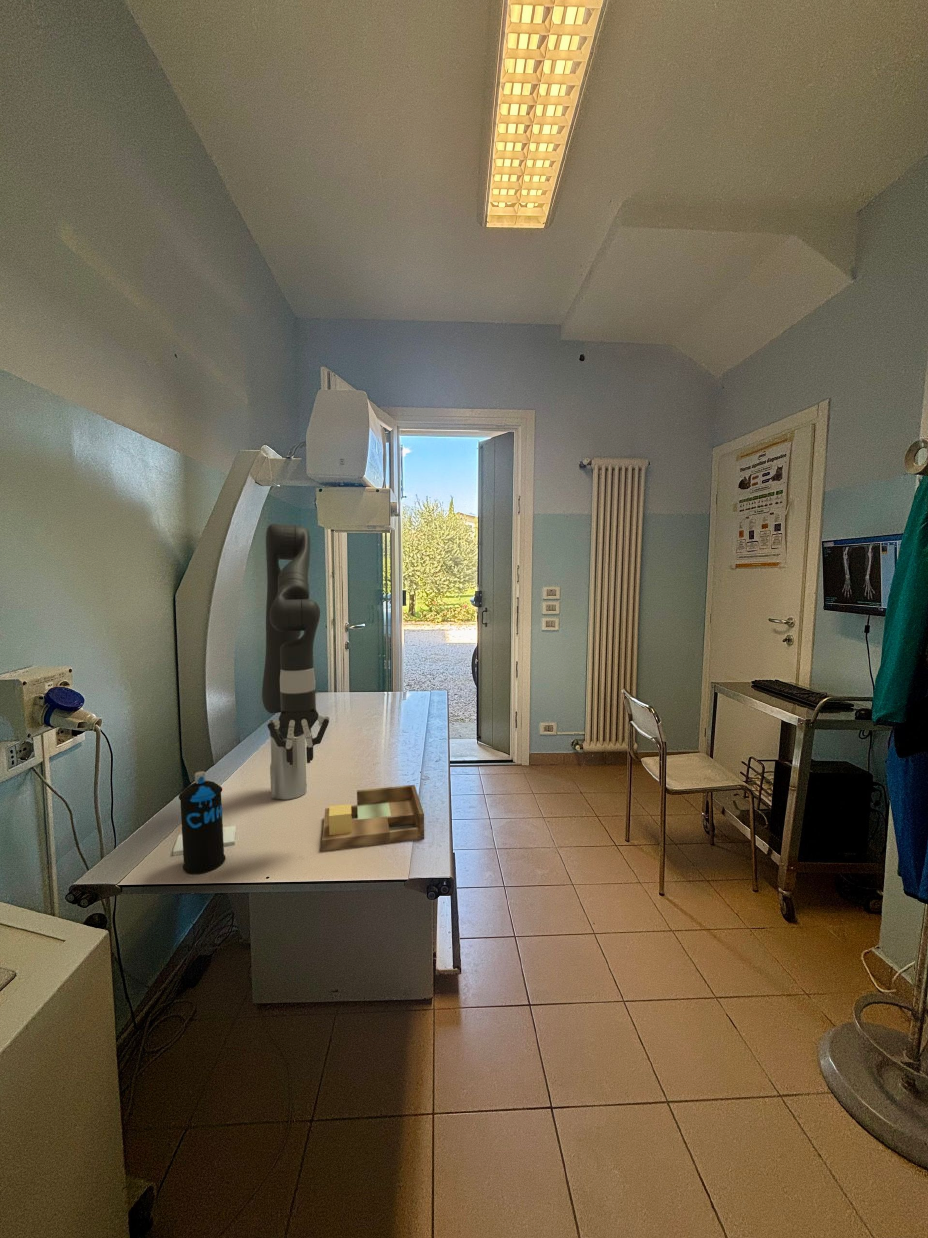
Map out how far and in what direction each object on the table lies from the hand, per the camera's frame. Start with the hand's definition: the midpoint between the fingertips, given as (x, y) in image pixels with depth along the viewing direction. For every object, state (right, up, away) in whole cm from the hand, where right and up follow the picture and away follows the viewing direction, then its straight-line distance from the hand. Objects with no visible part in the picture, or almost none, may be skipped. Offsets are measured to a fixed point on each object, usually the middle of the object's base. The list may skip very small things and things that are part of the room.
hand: (300, 762), depth 114 cm
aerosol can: (-19, -20, -6) cm, 28 cm away
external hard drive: (-23, -20, +3) cm, 30 cm away
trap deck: (+14, -18, +8) cm, 25 cm away
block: (+8, -16, +3) cm, 19 cm away
